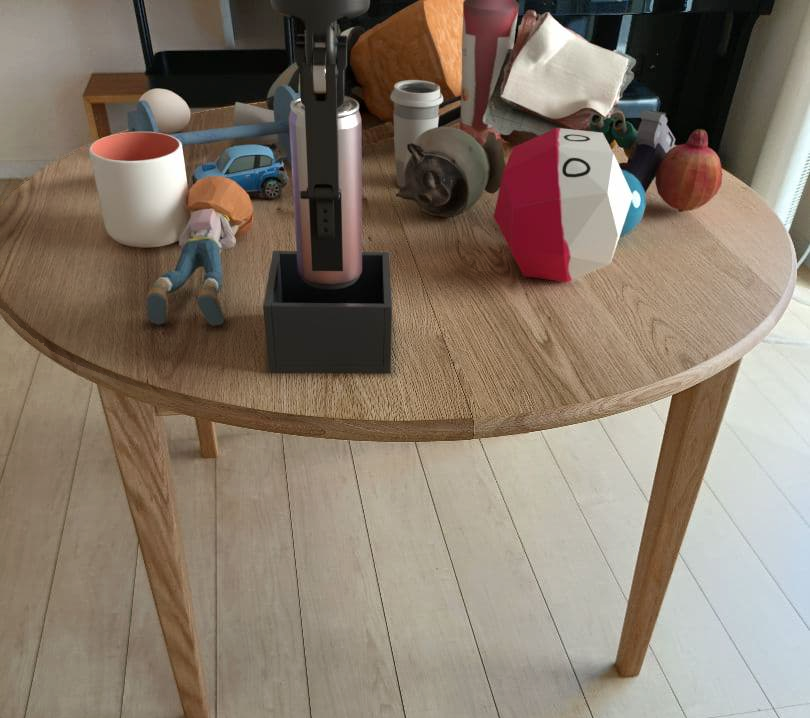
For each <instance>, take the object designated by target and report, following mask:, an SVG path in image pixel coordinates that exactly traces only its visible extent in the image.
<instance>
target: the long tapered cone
mask: <svg viewBox="0 0 810 718" xmlns="http://www.w3.org/2000/svg"><path fill="white" fill-rule="evenodd" d="M267 122H275V120H274V111H273V110H268V108H264V107H260V106H257V105H251V104H247V103H243V102H239V101H235V103H234V109H233V122H232V123H233V126H232V127H234V126H242V125H250V124H259V123H267ZM278 141H279V140H278V136H277V134H273V135H266V136H258V137H250V138H242V139H234V140H233V146H239V145H262V146H271V145H272V144H273V143H276V142H278Z"/></svg>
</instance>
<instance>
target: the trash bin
mask: <svg viewBox="0 0 810 718" xmlns="http://www.w3.org/2000/svg"><path fill="white" fill-rule="evenodd" d="M391 278H392V277H391V259H390V252H389V251H362V273H361V275H360V276H359V278H358V279H357V281H356V282H355V283H353V284H352V285H350V286H348V287H345V288H340V289H320V288H315V287H312V286H310V285H308V284H307V283H305V282H304V281H303V279H302V278H301V277H300V275H299V273H298V268H297V251H296V250H273V251H272V254H271V260H270V264H269V270H268V276H267V282H266V286H265V287H266V288H265V294H264V300H263V305H262V308H263V309H262V310H263V321H264V330H265V331H264V332H265V343H266V354H267V365H268V373H281V374H282V373H284V374H285V373H288V374H289V373H299V374H301V373H302V374H304V373H305V374H307V373H308V374H309V373H311V374H312V373H313V374H314V373H316V374H391V372H392V370H391V369H392V336H393V335H392V333H393V331H392V330H393V329H392V328H393V327H392V326H393V299H392V297H393V296H392V281H391V280H392V279H391Z"/></svg>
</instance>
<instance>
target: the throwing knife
mask: <svg viewBox="0 0 810 718" xmlns="http://www.w3.org/2000/svg"><path fill="white" fill-rule="evenodd" d="M459 101H461V95H459V96H457V97H456V98H452V99H449V100H447V101H444V102H442V103H441V104H439V108H440V109H443V108H445V107H446V106H449V105H451V104H454V103H456V102H459ZM444 106H445V107H444ZM442 107H443V108H442ZM460 113H461V105H459V106H457V107H454V108H453V109H451V110H448V111H447V112H445V113H443V114H439V120H438V127H452V126H453V125H456V124H458V123H460ZM393 138H394V121H385V122H384V124H378V125H377V126H374V127H370V128H368V129H365V130H362V131H361V140H362V148H365V147H367V146H372V145H376V144H378V143H379V142H380V143H382V142H383V141H387V140H388V139H393Z"/></svg>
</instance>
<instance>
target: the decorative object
mask: <svg viewBox="0 0 810 718" xmlns="http://www.w3.org/2000/svg"><path fill="white" fill-rule="evenodd" d="M632 197H633V195H632V193H631V191H630V189H629V186H628V184H627V182H626V180H625V178H624V175H623V173H622V171H621V169H620V166H619V162H618V160H617V158H616V155H615V154H614V151H613V149H611V148H610V146H609V144H608V142H607V140H606V138H605V136H604V134H603V133H600V132H591V131H581V130H572V129H563V128H555V129H553V130H551V131H548V132H546V133H544V134H542V135H540V136H537V137H535V138H533V139H531V140H529V141H527V142H524V143H522V144H517V145H516V146H514V147H512V149H511V152H510V154H509V156H508V159H507V162H506V163H505V169H504V172H503V176H502V181H501V185H500V188H499V189H498V196H497V200H496V203H495V208H494V213H493V218H494V220H495V222H496V224H497V227H498V228H499V231H500V232H501V234H502V236H503V239H504V241H505V242H506V244H507V246H508V248H509V250H510V252H511V254H512V257H513V258H514V260H515V262H516V264H517V266H518V268H519V270H520V272H521V274H522V276H523V277H528V278H535V279H541V280H542V279H543V280H548V281H557V282H565V283H568V282H571V281H574V280H576V279H578V278H581V277H584V276H586V275H588V274H591V273H594V272H595V271H599V270H601V269H603V268H606V267H609V266H611V264H612V261H613V257H614V254H615V253H616V249H617V245H618V242H619V240H620V238H619V237H620V234H621V231H622V228H623V225H624V222H625V219H626V215H627V212H628V209H629V206H630V203H631V200H632Z"/></svg>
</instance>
